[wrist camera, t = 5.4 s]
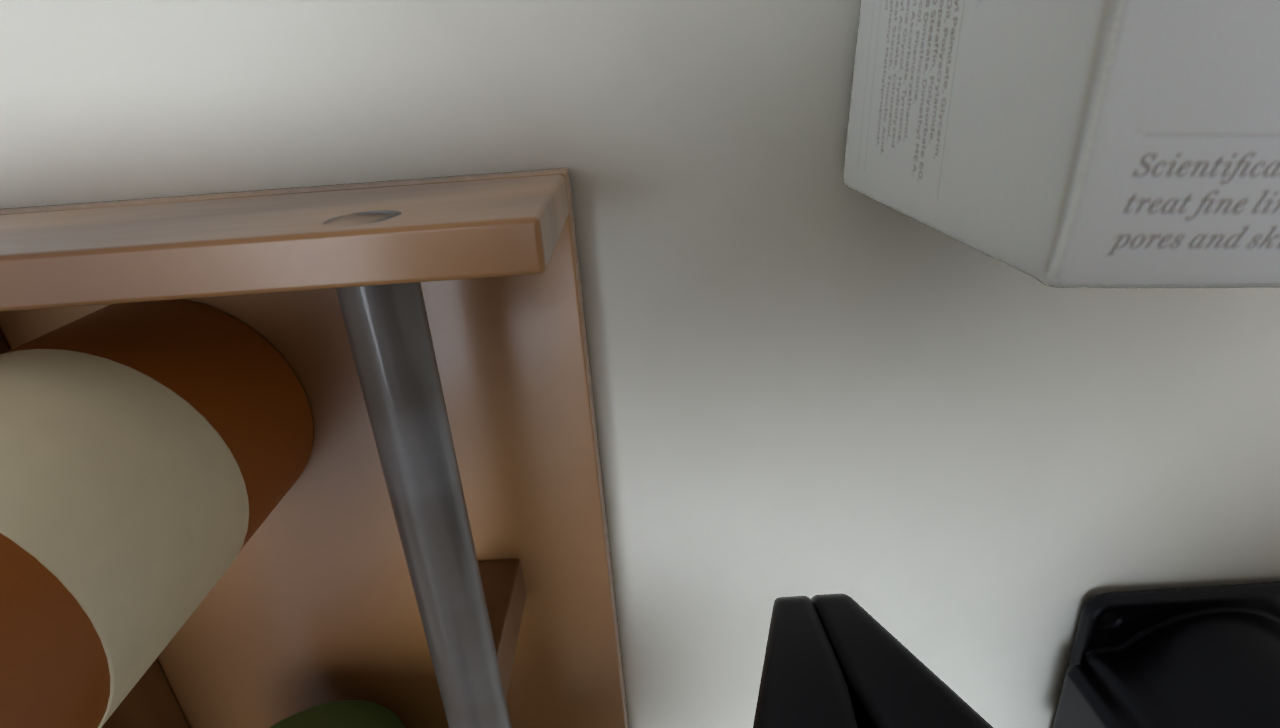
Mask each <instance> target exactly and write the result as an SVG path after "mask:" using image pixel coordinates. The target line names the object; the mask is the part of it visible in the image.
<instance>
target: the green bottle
mask: <svg viewBox="0 0 1280 728" xmlns="http://www.w3.org/2000/svg"><path fill="white" fill-rule="evenodd" d="M269 728H405V726H404V724H403V723H402V721H401V720H400V718H399V717H398V716H397V715H396V714H395V713H394V712H392V711H391V710H389V709H388V708H386V707H384V706H382V705H379V704H376V703H374V702H369V701H363V700H343V701H335V702H330V703H325V704H321V705H318V706H314V707H311V708H308V709H305V710H303V711H301V712H298V713H296V714H293V715H291V716H289V717H287V718H285V719H283V720H281V721H280V722H278V723H276V724H274V725H273V726H271V727H269Z"/></svg>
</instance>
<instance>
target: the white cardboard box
mask: <svg viewBox="0 0 1280 728" xmlns="http://www.w3.org/2000/svg"><path fill="white" fill-rule="evenodd" d="M843 180H844V184H845V185H846V186H848V187H850V188H852V189H854V190H856V191H857V192H859V193H862V194H864V195H866V196H868V197H870V198H872V199H874V200H876V201H878V202H880V203H882V204H884V205H886V206H888V207H890V208H892V209H894V210H896V211H899V212H900V213H902V214H905V215H907V216H909V217H911V218H913V219H915V220H917V221H919V222H921V223H923V224H925V225H927V226H930V227H932V228H934V229H936V230H938V231H940V232H942V233H944V234H946V235H948V236H950V237H952V238H954V239H956V240H958V241H960V242H962V243H964V244H966V245H968V246H971V247H973V248H975V249H977V250H979V251H981V252H983V253H985V254H987V255H988V256H990V257H993V258H995V259H997V260H1000V261H1002V262H1004V263H1006V264H1008V265H1010V266H1012V267H1014V268H1016V269H1018V270H1020V271H1022V272H1024V273H1026V274H1028V275H1030V276H1032V277H1034V278H1035V279H1037V280H1039V281H1040V282H1042V283H1044V284H1045V285H1048V286H1051V287H1062V288H1069V287H1086V288H1246V287H1280V0H861V8H860V16H859V24H858V35H857V44H856V52H855V62H854V72H853V84H852V94H851V102H850V113H849V122H848V130H847V140H846V152H845V163H844V179H843Z"/></svg>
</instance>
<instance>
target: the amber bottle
mask: <svg viewBox="0 0 1280 728" xmlns="http://www.w3.org/2000/svg"><path fill="white" fill-rule="evenodd" d="M312 443H313V420H312V414H311V409H310V405H309V402H308V399H307V396H306V393H305V391H304V389H303V387H302V385H301V383H300V381H299V379H298V377H297V376H296V374H295V373H294V371H293V369H292V368H291V367H290V365H289V364H288V363H287V361H286V360H285V359H284V358H283V356H282V355H281V354H280V353H279V352H278V351H277V350H276V349H275V348H274V347H273V346H272V345H271V344H270V343H269V342H268V341H267V340H266V339H264V338H263V337H262V336H261V335H259V334H258V333H257V332H256V331H255V330H253V329H251V328H250V327H248V326H247V325H245V324H244V323H242V322H241V321H239V320H237V319H235V318H234V317H232V316H230V315H228V314H226V313H224V312H222V311H219V310H217V309H214V308H211V307H209V306H206V305H203V304H199V303H196V302H192V301H189V300H182V299H174V300H160V301H146V302H132V303H118V304H111V305H109V306H106V307H104V308H102V309H99V310H97V311H95V312H93V313H91V314H88V315H86V316H84V317H82V318H80V319H78V320H75V321H73V322H71V323H69V324H67V325H65V326H62V327H60V328H58V329H56V330H54V331H51V332H49V333H47V334H45V335H43V336H41V337H38V338H36V339H34V340H32V341H30V342H28V343H25V344H23V345H21V346H19V347H17V348H14V349H12V350H10V351H8V352H6V353H4V354H0V728H101V727H102V726H103V725H104V723H105V722H106V721H107V720H108V718H109V717H110V716H111V715H112V713H113V712H114V711H115V710H116V708H117V707H118V706H119V705H120V703H121V702H122V701H123V700H124V698H125V697H126V696H127V695H128V693H129V692H130V691H131V690H132V688H133V687H134V686H135V685H136V683H137V682H138V681H139V680H140V678H141V677H142V676H143V675H144V673H145V672H146V671H147V670H148V668H149V667H150V666H151V665H152V663H153V662H154V661H155V660H156V658H157V657H158V656H159V655H160V653H161V652H162V651H163V650H164V648H165V647H166V646H167V645H168V643H169V642H170V641H171V640H172V638H173V637H174V636H175V635H176V633H177V632H178V631H179V630H180V628H181V627H182V626H183V625H184V623H185V622H186V621H187V620H188V618H189V617H190V616H191V615H192V613H193V612H194V611H195V610H196V608H197V607H198V606H199V605H200V603H201V602H202V601H203V600H204V598H205V597H206V596H207V595H208V593H209V592H210V591H211V590H212V588H213V587H214V586H215V585H216V583H217V582H218V581H219V580H220V578H221V577H222V576H223V574H224V573H225V572H226V571H227V569H228V568H229V567H230V566H231V564H232V563H233V562H234V560H235V559H236V558H237V556H238V554H239V552H240V551H241V549H242V548H243V547H244V546H245V544H246V543H247V542H248V541H249V539H250V538H251V537H252V536H253V534H254V533H255V532H256V531H257V529H258V528H259V527H260V526H261V525H262V523H263V522H264V521H265V520H266V518H267V517H268V516H269V515H270V513H271V512H272V511H273V510H274V508H275V507H276V506H277V505H278V503H279V502H280V501H281V500H282V498H283V497H284V496H285V495H286V493H287V492H288V491H289V490H290V488H291V487H292V486H293V485H294V483H295V482H296V481H297V479H298V478H299V477H300V476H301V474H302V472H303V470H304V468H305V467H306V465H307V463H308V459H309V456H310V453H311V449H312Z"/></svg>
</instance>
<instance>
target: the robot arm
mask: <svg viewBox="0 0 1280 728" xmlns="http://www.w3.org/2000/svg"><path fill="white" fill-rule="evenodd" d="M753 728H993V727H992V726H991V725H990V724H989V723H987V722H986V721H985V720H984V719H983V718H982V717H981V716H980V715H979V714H978V713H977V712H975V711H974V710H973V709H972V708H971V707H970V706H969V705H968V704H967V703H966V702H964V701H963V700H962V699H961V698H960V697H959V696H958V695H957V694H956V693H955V692H954V691H952V690H951V689H950V688H949V687H948V686H947V685H946V684H945V683H944V682H943V681H942V680H940V679H939V678H938V677H937V676H936V675H935V674H934V673H933V672H932V671H931V670H929V669H928V668H927V667H926V666H925V665H924V664H923V663H922V662H921V661H920V660H919V659H917V658H916V657H915V656H914V655H913V654H912V653H911V652H910V651H909V650H908V649H907V648H905V647H904V646H903V645H902V644H901V643H900V642H899V641H898V640H897V639H896V638H895V637H893V636H892V635H891V634H890V633H889V632H888V631H887V630H886V629H885V628H884V627H882V626H881V625H880V624H879V623H878V622H877V621H876V620H875V619H874V618H873V617H872V616H870V615H869V614H868V613H867V612H866V611H865V610H864V609H863V608H862V607H861V606H860V605H858V604H857V603H856V602H855V601H854V600H853V599H852V598H851V597H849V596H847V595H845V594H828V595H816V596H814V597H813V598H812V599H811V600H810V599H809V598H808V597H806V596H796V597H781V598H777V599H776V600H775V602H774V606H773V612H772V618H771V624H770V630H769V636H768V642H767V648H766V654H765V660H764V666H763V672H762V678H761V684H760V690H759V696H758V702H757V708H756V714H755V720H754V726H753ZM1052 728H1280V582H1275V583H1259V584H1243V585H1228V586H1212V587H1196V588H1180V589H1164V590H1148V591H1132V592H1116V593H1103V594H1099V595H1096V596H1094V597H1092V598H1090V599H1089V600H1088V601H1087V602H1086V603H1085V604H1084V606H1083V608H1082V610H1081V614H1080V618H1079V622H1078V626H1077V630H1076V634H1075V638H1074V642H1073V646H1072V650H1071V655H1070V659H1069V663H1068V667H1067V671H1066V675H1065V679H1064V683H1063V687H1062V691H1061V695H1060V699H1059V703H1058V707H1057V711H1056V715H1055V719H1054V723H1053V727H1052Z"/></svg>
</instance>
